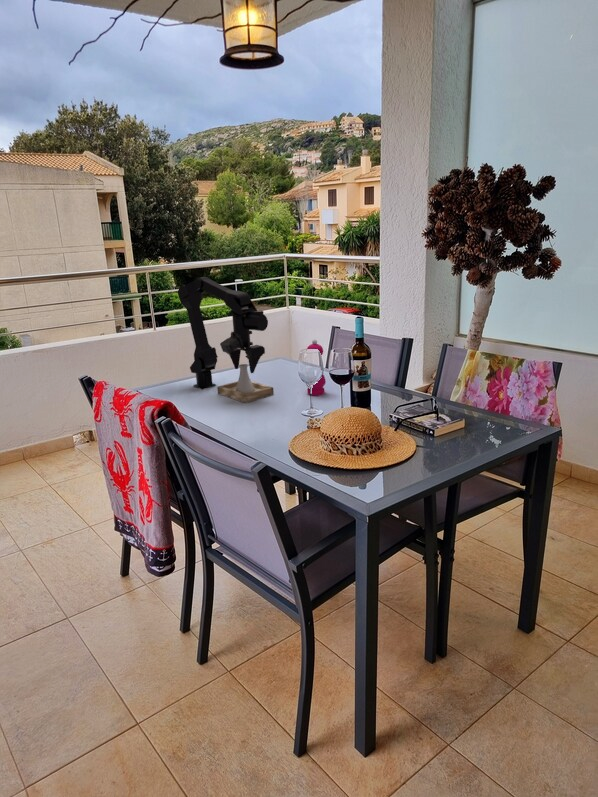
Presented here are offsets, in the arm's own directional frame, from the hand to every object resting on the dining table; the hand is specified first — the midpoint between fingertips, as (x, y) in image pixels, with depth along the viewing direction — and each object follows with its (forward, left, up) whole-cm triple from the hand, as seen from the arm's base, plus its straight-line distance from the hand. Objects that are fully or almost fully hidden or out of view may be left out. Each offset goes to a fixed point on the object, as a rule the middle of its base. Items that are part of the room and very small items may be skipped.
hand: (244, 370), depth 204 cm
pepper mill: (+19, +18, -9) cm, 28 cm away
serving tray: (0, 0, -9) cm, 9 cm away
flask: (0, 0, -8) cm, 8 cm away
